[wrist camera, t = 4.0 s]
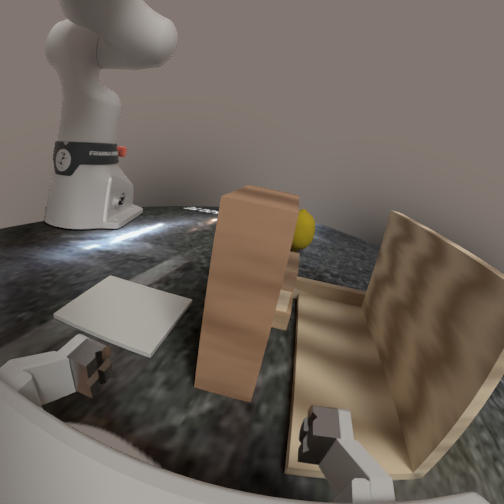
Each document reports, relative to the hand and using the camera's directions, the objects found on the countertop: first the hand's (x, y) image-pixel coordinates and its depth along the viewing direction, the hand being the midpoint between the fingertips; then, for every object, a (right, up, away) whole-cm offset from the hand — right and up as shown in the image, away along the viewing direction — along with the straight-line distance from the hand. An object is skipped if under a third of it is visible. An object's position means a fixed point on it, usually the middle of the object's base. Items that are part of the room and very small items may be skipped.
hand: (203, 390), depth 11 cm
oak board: (0, -3, +13) cm, 13 cm away
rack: (+6, -4, +15) cm, 16 cm away
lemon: (+9, +5, +45) cm, 46 cm away
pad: (-10, 0, +16) cm, 19 cm away
